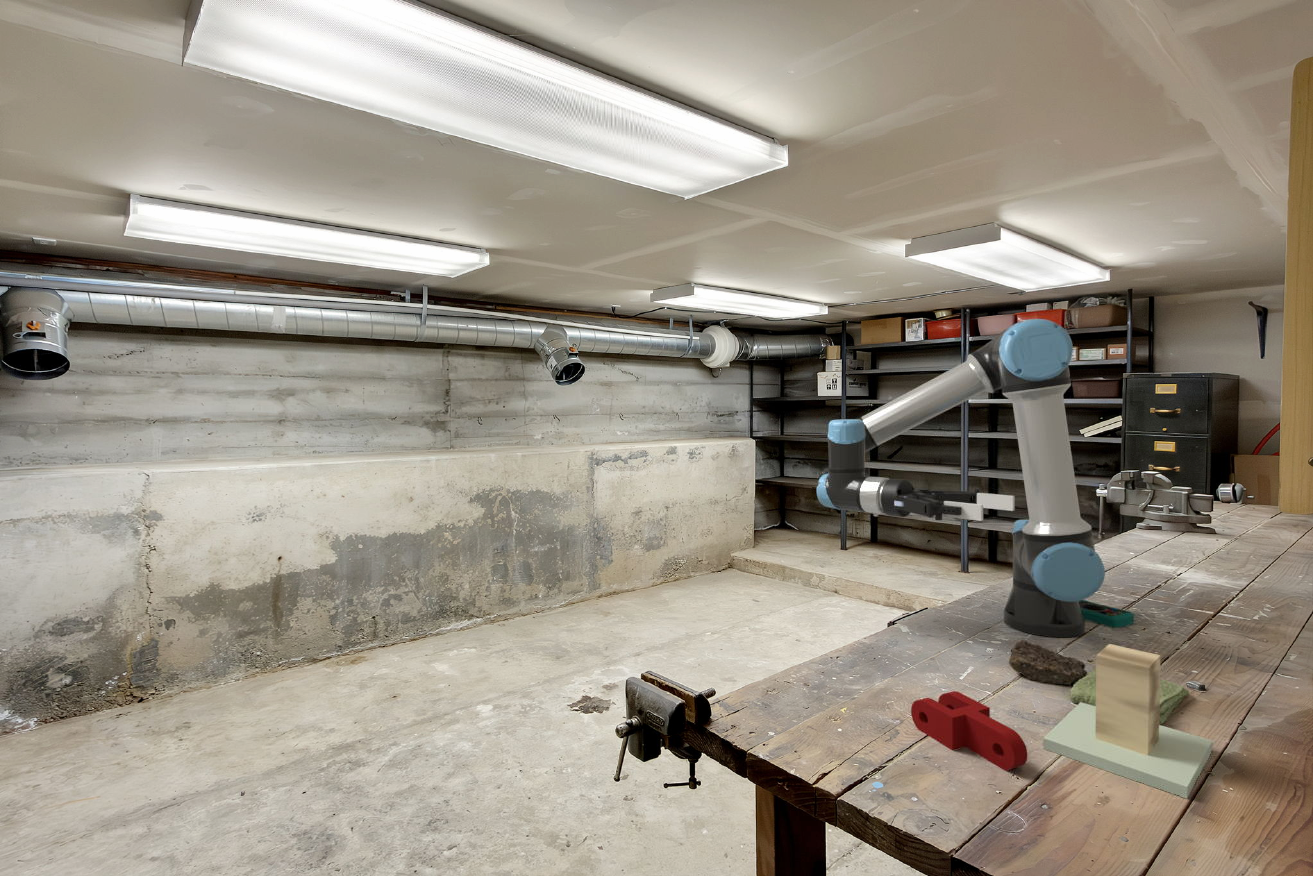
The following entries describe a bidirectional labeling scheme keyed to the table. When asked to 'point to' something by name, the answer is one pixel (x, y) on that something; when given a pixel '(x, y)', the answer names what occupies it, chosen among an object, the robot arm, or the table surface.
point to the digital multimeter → (1105, 614)
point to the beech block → (1127, 698)
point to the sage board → (1132, 753)
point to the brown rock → (1045, 664)
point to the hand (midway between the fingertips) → (998, 507)
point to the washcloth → (1168, 694)
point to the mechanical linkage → (969, 729)
